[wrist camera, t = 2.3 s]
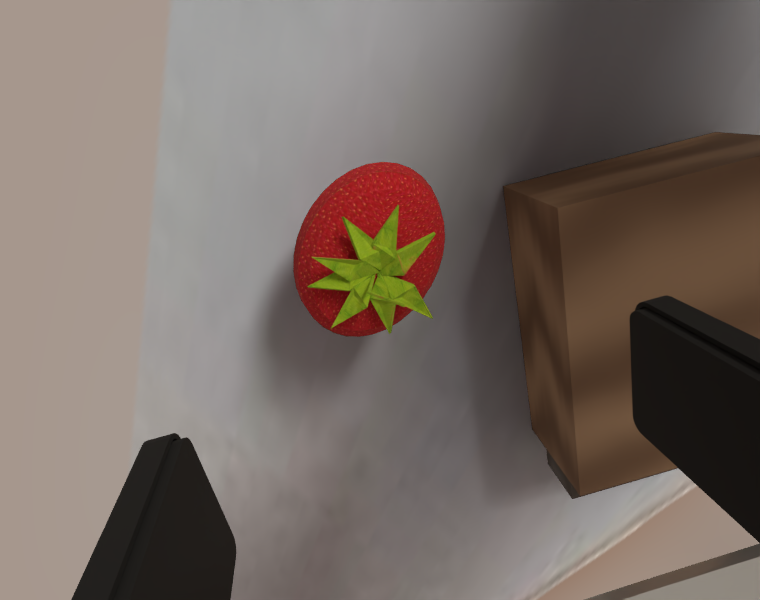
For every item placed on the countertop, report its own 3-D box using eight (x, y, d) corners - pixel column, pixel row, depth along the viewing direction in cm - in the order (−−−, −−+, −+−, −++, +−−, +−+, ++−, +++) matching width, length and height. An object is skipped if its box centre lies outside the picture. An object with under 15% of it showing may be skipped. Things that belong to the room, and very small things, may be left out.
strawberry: (439, 181, 26) (517, 225, 16) (373, 306, 28) (410, 408, 18) (334, 127, 24) (356, 141, 15) (272, 264, 26) (257, 352, 17)
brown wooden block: (502, 186, 26) (557, 208, 21) (715, 132, 27) (823, 139, 21) (534, 443, 33) (581, 512, 27) (703, 395, 34) (783, 452, 28)
